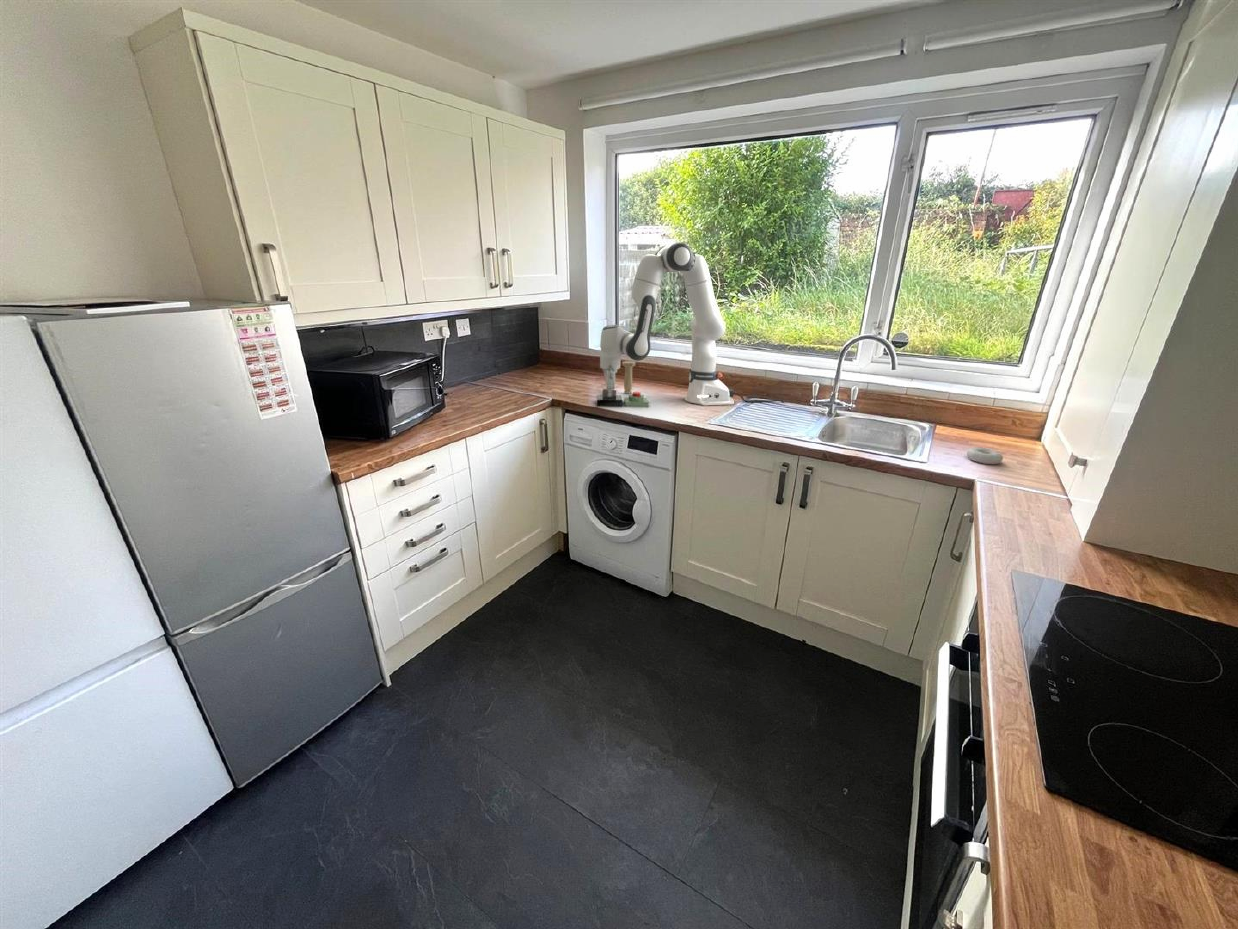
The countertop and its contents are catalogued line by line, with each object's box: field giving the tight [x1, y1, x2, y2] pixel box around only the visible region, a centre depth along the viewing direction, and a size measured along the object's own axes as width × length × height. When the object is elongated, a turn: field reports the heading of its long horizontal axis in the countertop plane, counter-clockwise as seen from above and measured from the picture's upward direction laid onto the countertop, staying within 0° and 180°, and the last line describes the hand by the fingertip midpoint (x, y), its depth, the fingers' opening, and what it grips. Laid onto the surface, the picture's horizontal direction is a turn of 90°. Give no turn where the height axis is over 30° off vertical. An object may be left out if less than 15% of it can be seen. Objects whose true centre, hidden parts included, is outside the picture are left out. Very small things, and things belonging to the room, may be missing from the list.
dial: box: [602, 388, 617, 398], centre depth 219 cm, size 6×2×4 cm, turn 94°
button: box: [631, 391, 642, 397], centre depth 220 cm, size 4×4×2 cm
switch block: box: [623, 393, 649, 408], centre depth 221 cm, size 10×8×4 cm
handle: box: [621, 360, 637, 395], centre depth 238 cm, size 5×6×15 cm
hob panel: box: [596, 394, 623, 408], centre depth 220 cm, size 11×10×3 cm
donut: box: [966, 447, 1004, 465], centre depth 167 cm, size 10×4×10 cm
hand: (609, 395), depth 219 cm, fingers closed on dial, 2 cm apart
